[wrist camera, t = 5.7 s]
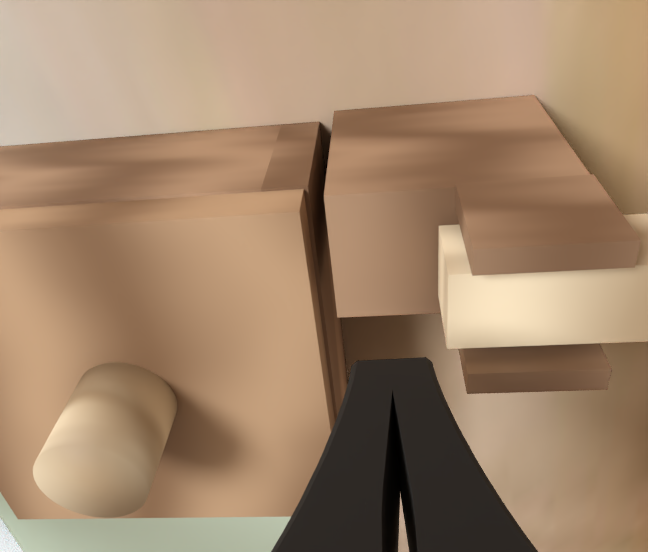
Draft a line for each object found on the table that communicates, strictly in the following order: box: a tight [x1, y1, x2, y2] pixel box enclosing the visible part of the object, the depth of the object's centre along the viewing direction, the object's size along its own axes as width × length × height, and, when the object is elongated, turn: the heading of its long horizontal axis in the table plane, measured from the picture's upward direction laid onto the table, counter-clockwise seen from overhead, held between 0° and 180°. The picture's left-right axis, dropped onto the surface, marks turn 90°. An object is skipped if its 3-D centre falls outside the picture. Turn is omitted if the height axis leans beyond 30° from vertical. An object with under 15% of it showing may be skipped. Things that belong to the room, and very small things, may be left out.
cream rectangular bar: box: [438, 213, 648, 349], centre depth 13 cm, size 8×2×2 cm, turn 96°
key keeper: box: [324, 95, 641, 394], centre depth 16 cm, size 6×4×8 cm, turn 96°
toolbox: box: [0, 122, 348, 421], centre depth 21 cm, size 12×12×4 cm
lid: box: [0, 189, 335, 519], centre depth 18 cm, size 12×12×4 cm
